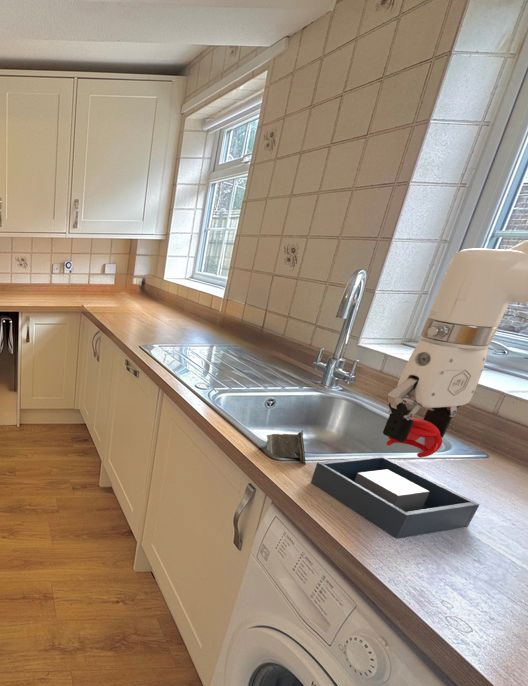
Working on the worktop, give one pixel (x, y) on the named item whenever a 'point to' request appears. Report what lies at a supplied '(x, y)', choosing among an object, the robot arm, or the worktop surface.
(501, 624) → the worktop surface
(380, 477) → the block
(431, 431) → the red curved piece
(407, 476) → the dark grey tray
